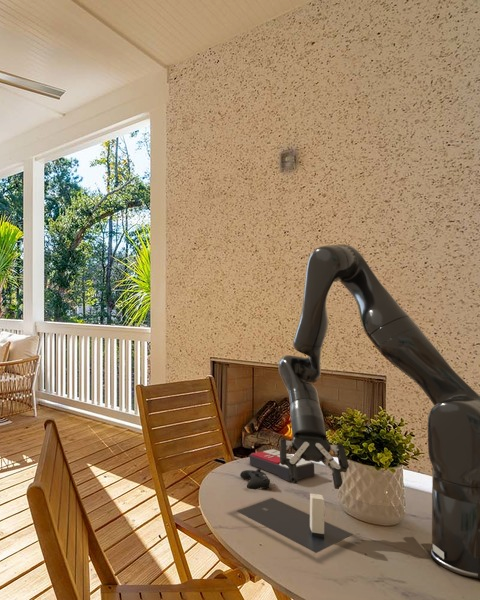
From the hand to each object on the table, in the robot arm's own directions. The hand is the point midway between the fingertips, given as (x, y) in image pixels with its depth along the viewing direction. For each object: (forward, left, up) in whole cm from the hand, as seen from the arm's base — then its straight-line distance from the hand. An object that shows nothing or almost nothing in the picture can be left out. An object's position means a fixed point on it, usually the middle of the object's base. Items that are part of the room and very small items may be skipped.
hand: (316, 485), depth 98 cm
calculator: (+26, -25, -11) cm, 37 cm away
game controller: (+23, -9, -11) cm, 27 cm away
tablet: (+4, +3, -10) cm, 12 cm away
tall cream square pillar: (-2, +3, -9) cm, 10 cm away
